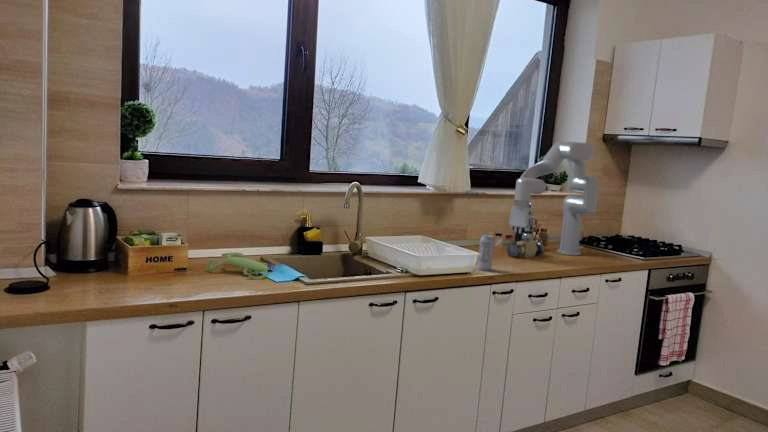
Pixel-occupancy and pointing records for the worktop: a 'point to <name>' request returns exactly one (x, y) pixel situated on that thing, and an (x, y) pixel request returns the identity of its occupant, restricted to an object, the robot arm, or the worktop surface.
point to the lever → (512, 236)
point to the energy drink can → (485, 252)
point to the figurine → (243, 264)
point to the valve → (525, 248)
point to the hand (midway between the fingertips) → (517, 241)
